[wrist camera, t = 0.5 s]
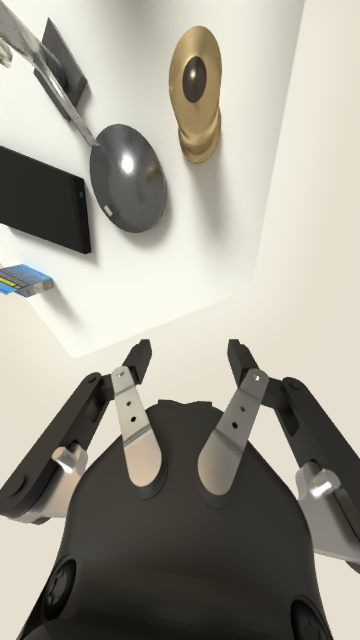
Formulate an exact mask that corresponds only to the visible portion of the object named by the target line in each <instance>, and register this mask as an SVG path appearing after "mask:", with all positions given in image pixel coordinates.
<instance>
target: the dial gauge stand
mask: <svg viewBox="0 0 360 640" xmlns="http://www.w3.org/2000/svg"><path fill="white" fill-rule="evenodd" d="M5 42H6V43H7V44H8V45H10V46H11V47H12V48H13V49H14V50H15V51H17V52H18V53H19V54H20V55H21V56H22V57H23V58H25V59H26V60H27V61H28V62H29V63H30V64H31V65H33V66H34V67H35V69H34V75H35V76H36V77H37V79H38V80H39V82H40V83H41V85H42V86H43V88H44V89H45V91H46V92H47V94H48V95H49V96H50V98H51V99H52V101H53V102H54V104H55V105H56V107H57V108H58V110H59V111H60V113H61V114H62V115H63V117H64V118H65V119H66V120H68V121H69V122H70V119H72V120H73V122H74V123H75V125H76V126H77V128H78V129H79V131H80V132H81V134H82V135H83V137H84V138H85V140H86V141H87V143H88V144H89V145H90V146H95V147H96V148H98V149H100V143H99V142H98V141H97V140H95V139H94V137H93V136H92V134H91V133H90V131H89V130H88V128H87V127H86V125H85V123H84V122H83V120H82V119H81V117H80V116H79V114H78V113H77V111H76V109H75V108H76V105H77V103H78V101H79V98H80V96H81V94H82V91H83V89H84V86H85V84H86V82H87V79H86V78H85V76H84V74H83V73H82V71H81V69H80V67H79V66H78V64H77V62H76V61H75V59H74V57H73V55H72V54H71V52H70V50H69V48H68V47H67V45H66V43H65V42H64V40H63V38H62V36H61V35H60V33H59V31H58V30H57V28H56V26H55V25H54V24H53V22H52V21H51V20H50V18H49V17H48V20H47V24H46V28H45V32H44V35H43V39H42V43H41V42H40V41H39V40H38V39H37V37H36V36H35V35H34V34H33V33H32V32H31V31H30V30H29V29H28V28H27V27H26V26H25V25H24V24H23V23H22V22H21V21H20V19H19V18H18V17H17V16H16V15H15V14H14V13H13V12H12V11H11V10H10V9H9V8H8V7H7V6H6V5H5V4H4V3H3V2H2V0H0V63H1V64H2V65H4V66H5V67H7V68H10V66H11V61H12V53H11V51H10V49H9V47H8V46H7V44H6V43H5Z"/></svg>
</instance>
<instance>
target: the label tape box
mask: <svg viewBox="0 0 360 640" xmlns="http://www.w3.org/2000/svg"><path fill="white" fill-rule="evenodd" d="M52 287H53V285H52V278H51V277H49V276H47V275H44V274H42V273H40V272H38V271H36V270H34V269H32V268H30V267H27V266H25V265H23V264H21V265H17V266H12V267H7V268H2V269H0V292H1V293H3V294H5V295H8V294H9V293H12V292H15V293H18V294H20V295H22V296H24V297H26V298H27V297H30V296H32V295H35V294H37V293H40V292H42V291H44V290H47V289H49V288H52Z"/></svg>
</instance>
